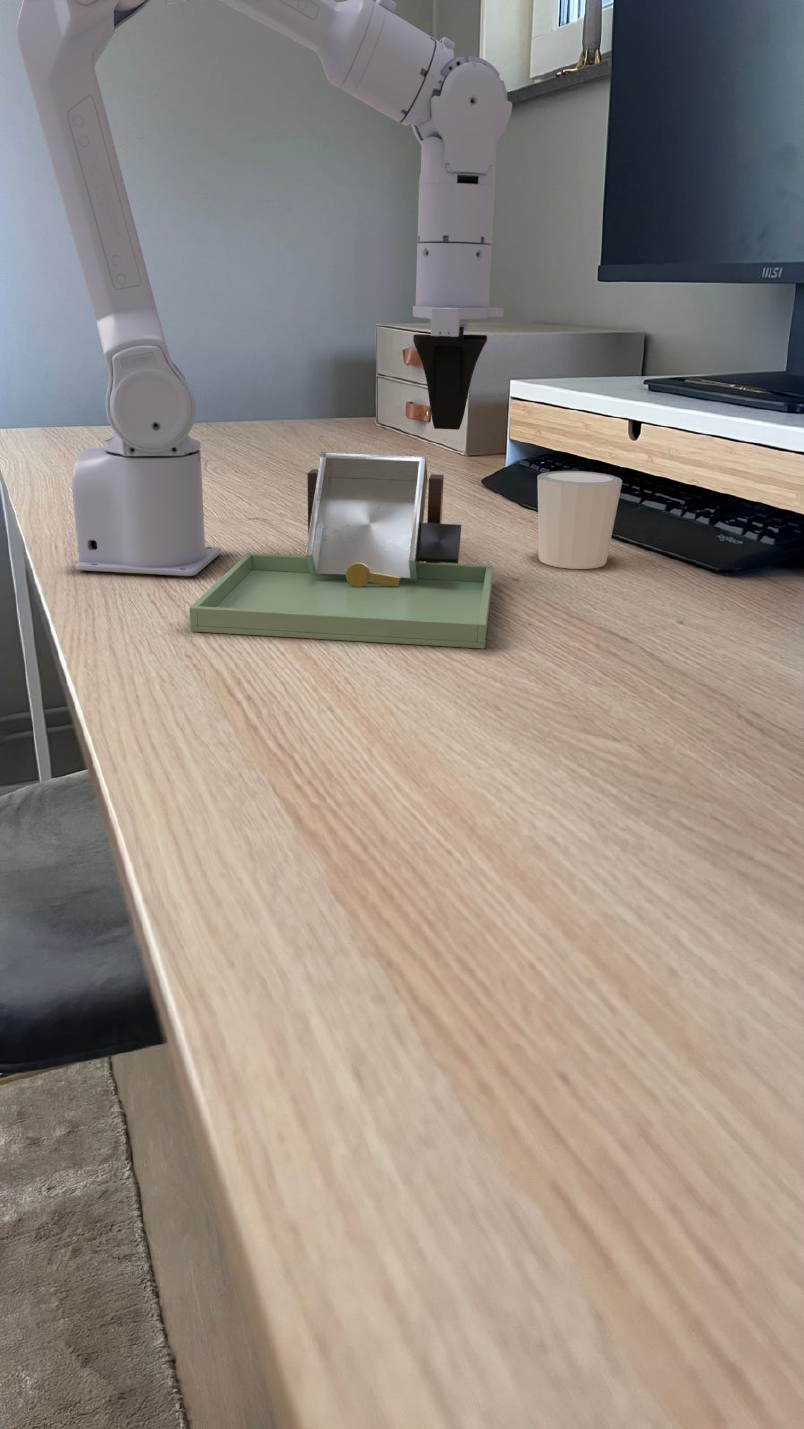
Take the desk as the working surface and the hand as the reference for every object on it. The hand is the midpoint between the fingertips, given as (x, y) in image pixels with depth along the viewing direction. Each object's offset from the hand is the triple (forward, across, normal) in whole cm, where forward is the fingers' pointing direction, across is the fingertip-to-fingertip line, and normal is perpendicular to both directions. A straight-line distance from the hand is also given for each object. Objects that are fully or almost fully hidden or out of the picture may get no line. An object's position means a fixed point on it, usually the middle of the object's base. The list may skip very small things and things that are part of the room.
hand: (447, 428), depth 84 cm
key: (+9, -13, +4) cm, 16 cm away
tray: (+10, -17, +5) cm, 21 cm away
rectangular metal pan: (+6, -9, +4) cm, 11 cm away
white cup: (+11, 0, -11) cm, 15 cm away
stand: (+10, -6, +5) cm, 13 cm away
